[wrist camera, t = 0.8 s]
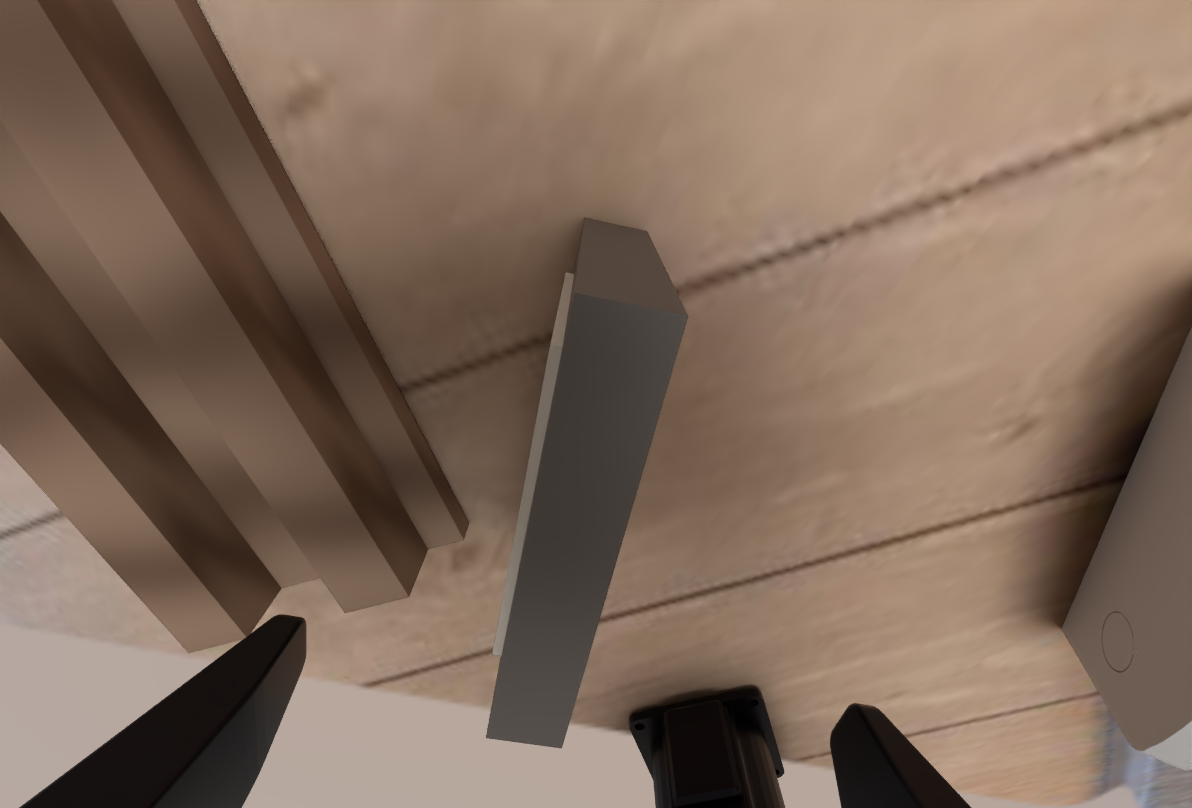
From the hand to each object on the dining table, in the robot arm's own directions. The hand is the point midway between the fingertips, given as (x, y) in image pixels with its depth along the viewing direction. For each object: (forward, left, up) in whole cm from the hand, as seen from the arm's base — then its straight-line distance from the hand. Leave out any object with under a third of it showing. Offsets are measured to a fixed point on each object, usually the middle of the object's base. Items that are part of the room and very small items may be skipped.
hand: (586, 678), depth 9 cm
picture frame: (0, +1, -12) cm, 12 cm away
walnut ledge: (+6, +13, -12) cm, 18 cm away
